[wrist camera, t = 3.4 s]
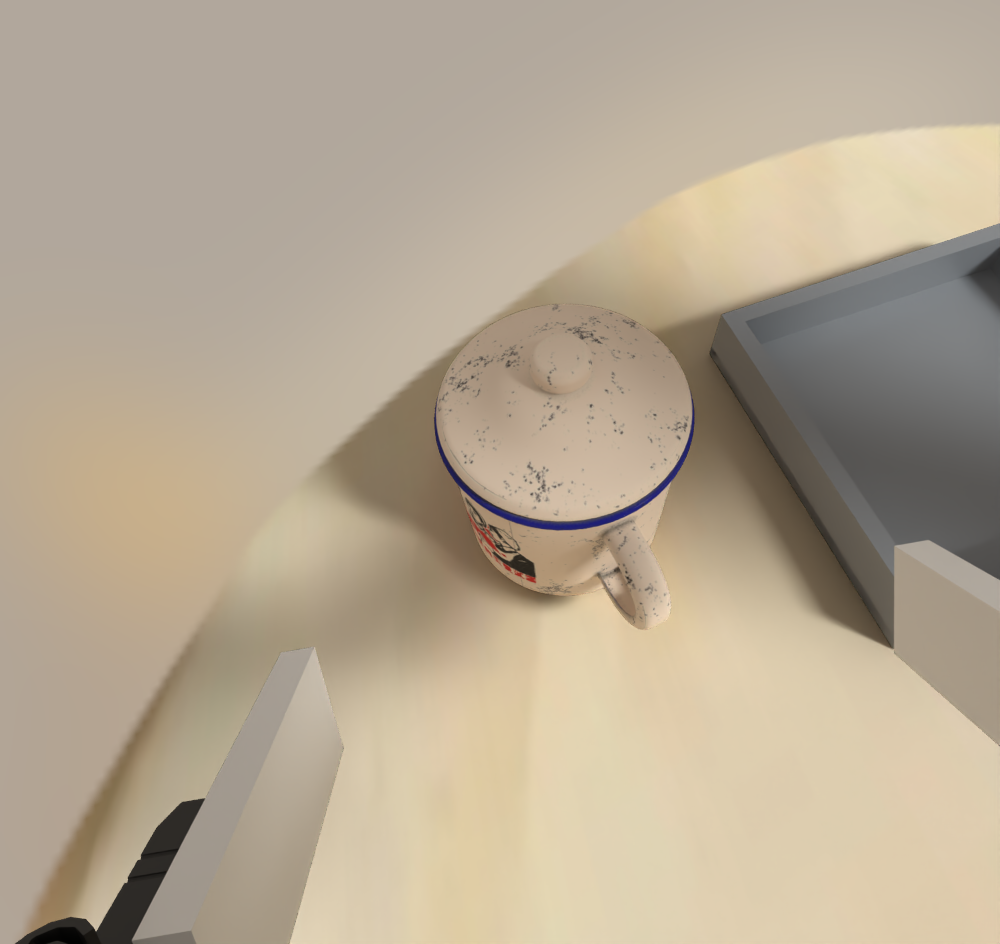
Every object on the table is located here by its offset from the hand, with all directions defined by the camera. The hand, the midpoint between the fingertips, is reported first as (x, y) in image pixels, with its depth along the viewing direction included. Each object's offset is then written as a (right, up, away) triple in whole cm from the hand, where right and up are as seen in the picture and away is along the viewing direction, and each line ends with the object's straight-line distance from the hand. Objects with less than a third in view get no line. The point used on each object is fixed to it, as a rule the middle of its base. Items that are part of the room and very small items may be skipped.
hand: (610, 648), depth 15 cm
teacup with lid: (+1, +1, +15) cm, 15 cm away
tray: (+18, +6, +16) cm, 25 cm away
